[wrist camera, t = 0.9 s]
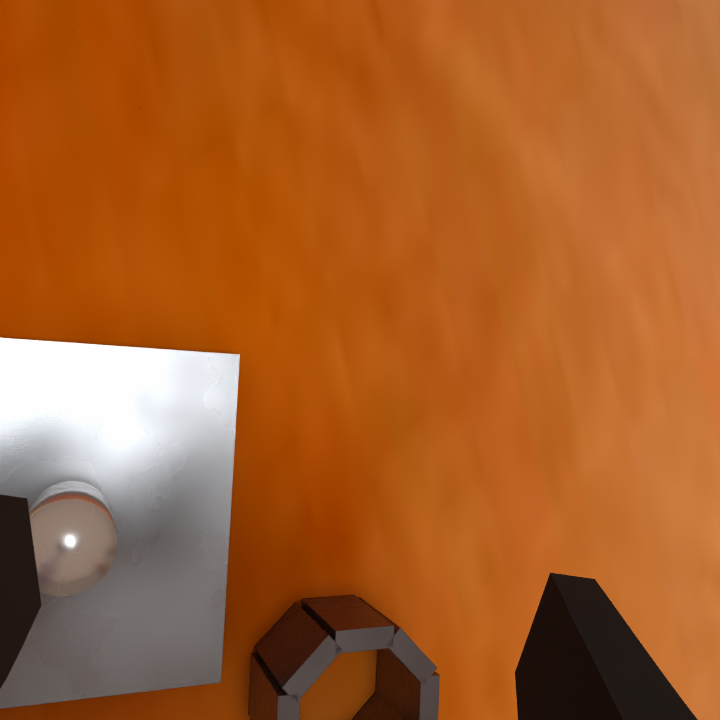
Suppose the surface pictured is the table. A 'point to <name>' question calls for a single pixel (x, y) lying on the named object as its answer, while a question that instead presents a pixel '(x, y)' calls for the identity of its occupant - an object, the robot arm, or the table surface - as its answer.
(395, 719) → the ring
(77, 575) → the square steel plate
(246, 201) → the table surface
